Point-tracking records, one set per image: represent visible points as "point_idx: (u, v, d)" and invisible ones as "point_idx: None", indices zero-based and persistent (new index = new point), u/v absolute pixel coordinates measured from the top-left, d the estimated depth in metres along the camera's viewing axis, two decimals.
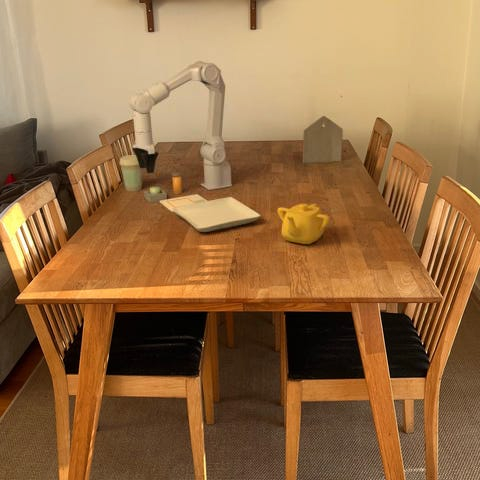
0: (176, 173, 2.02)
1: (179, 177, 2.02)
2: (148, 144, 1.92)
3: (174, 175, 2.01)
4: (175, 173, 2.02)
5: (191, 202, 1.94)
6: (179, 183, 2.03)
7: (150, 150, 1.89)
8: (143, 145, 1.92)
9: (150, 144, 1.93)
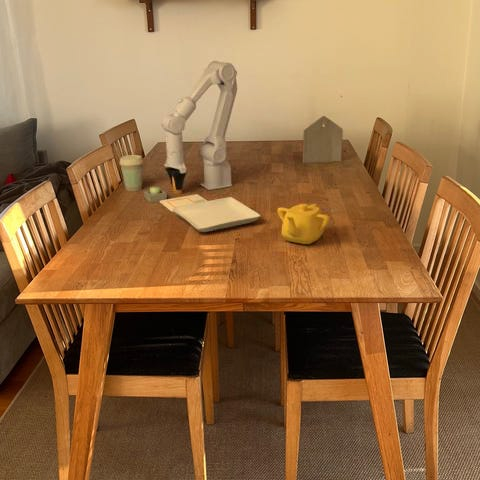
0: None
1: None
2: (179, 163, 1.99)
3: None
4: None
5: (191, 202, 1.94)
6: None
7: (182, 169, 1.95)
8: (175, 164, 1.98)
9: (181, 163, 1.99)
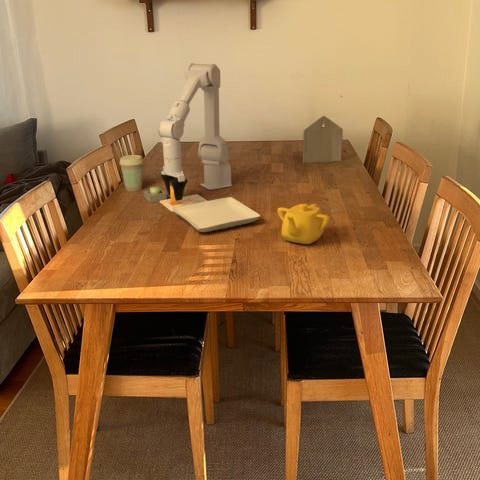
0: None
1: None
2: (177, 171, 1.86)
3: None
4: None
5: (191, 202, 1.94)
6: None
7: (180, 178, 1.83)
8: (172, 172, 1.86)
9: (179, 171, 1.87)
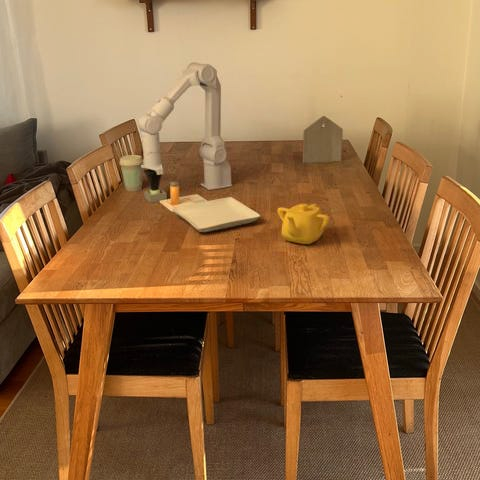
0: (174, 182, 1.90)
1: (177, 186, 1.90)
2: (156, 164, 1.93)
3: (172, 184, 1.89)
4: (173, 182, 1.90)
5: (191, 202, 1.94)
6: (177, 193, 1.90)
7: (159, 171, 1.89)
8: (152, 165, 1.92)
9: (158, 164, 1.93)
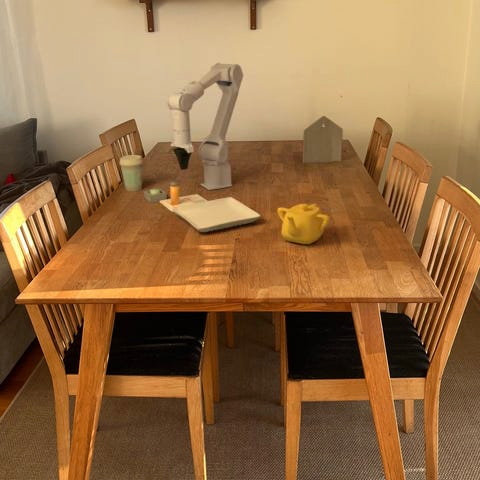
0: (174, 182, 1.90)
1: (177, 186, 1.90)
2: (186, 143, 1.92)
3: (172, 184, 1.89)
4: (173, 182, 1.90)
5: (191, 202, 1.94)
6: (177, 193, 1.90)
7: (189, 149, 1.88)
8: (182, 144, 1.92)
9: (188, 143, 1.93)
